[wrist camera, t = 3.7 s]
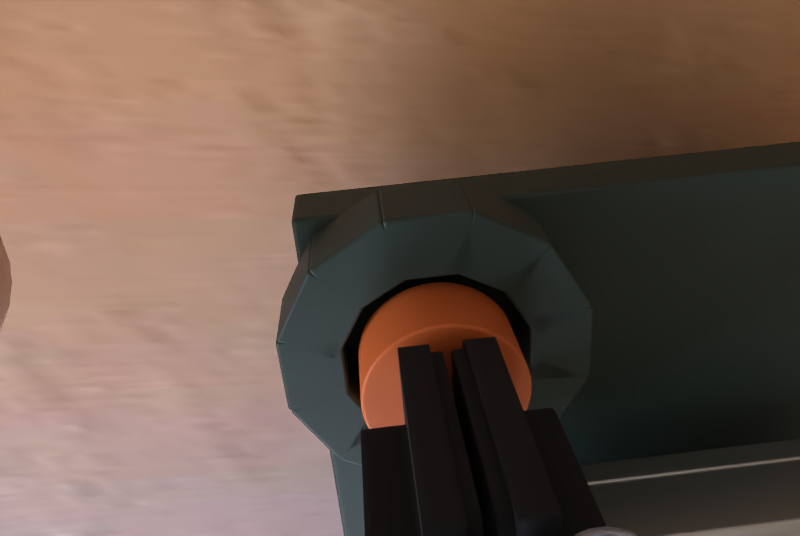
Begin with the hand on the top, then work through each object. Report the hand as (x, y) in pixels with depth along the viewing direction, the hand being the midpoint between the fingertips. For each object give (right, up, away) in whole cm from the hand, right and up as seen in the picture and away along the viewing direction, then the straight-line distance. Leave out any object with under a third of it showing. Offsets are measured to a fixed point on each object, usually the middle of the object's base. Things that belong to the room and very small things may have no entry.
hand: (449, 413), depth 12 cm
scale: (+4, -2, +6) cm, 8 cm away
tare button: (0, +1, +1) cm, 2 cm away
